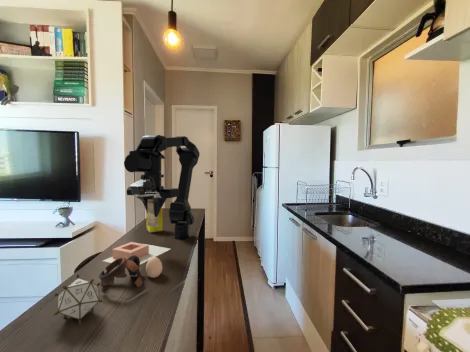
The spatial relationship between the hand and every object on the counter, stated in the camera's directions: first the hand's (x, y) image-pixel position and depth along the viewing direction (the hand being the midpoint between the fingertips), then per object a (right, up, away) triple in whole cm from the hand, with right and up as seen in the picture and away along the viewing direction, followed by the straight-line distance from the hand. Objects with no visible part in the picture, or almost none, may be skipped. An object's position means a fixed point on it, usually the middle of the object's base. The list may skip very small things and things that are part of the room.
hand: (152, 216), depth 85 cm
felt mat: (-4, -13, -1) cm, 14 cm away
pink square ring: (-6, -13, -3) cm, 15 cm away
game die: (-4, -15, -34) cm, 38 cm away
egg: (+6, -15, -17) cm, 23 cm away
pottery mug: (0, -15, -20) cm, 25 cm away
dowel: (0, -3, 0) cm, 3 cm away
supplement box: (-9, -12, +28) cm, 31 cm away
